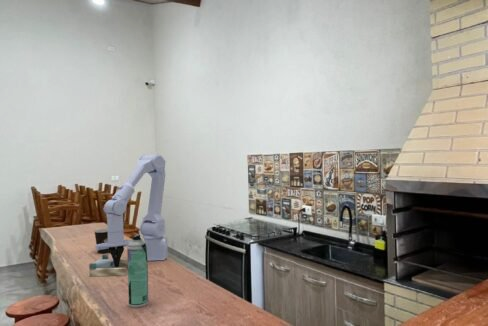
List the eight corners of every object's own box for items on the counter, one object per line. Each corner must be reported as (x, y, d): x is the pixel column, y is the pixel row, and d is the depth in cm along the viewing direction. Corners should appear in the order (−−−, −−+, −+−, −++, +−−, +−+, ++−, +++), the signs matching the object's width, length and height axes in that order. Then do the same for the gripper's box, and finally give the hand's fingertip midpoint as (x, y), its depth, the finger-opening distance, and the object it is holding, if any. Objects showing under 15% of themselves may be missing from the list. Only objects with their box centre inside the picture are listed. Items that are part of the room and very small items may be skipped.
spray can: (150, 299, 105) (148, 232, 105) (146, 307, 100) (144, 236, 100) (131, 300, 105) (130, 233, 105) (126, 308, 100) (124, 237, 100)
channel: (136, 264, 142) (135, 253, 142) (125, 275, 129) (125, 263, 129) (103, 265, 142) (103, 254, 142) (89, 276, 128) (89, 264, 128)
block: (116, 267, 139) (116, 259, 139) (109, 273, 132) (109, 264, 132) (98, 268, 139) (98, 259, 139) (91, 273, 132) (90, 264, 132)
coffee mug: (93, 255, 158) (93, 233, 158) (96, 250, 167) (95, 229, 166) (121, 252, 161) (120, 230, 161) (122, 248, 170) (121, 227, 170)
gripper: (133, 227, 142) (134, 261, 142) (94, 231, 135) (95, 266, 136) (136, 230, 136) (137, 265, 136) (95, 234, 129) (96, 271, 129)
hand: (116, 266), depth 135 cm, fingers closed
